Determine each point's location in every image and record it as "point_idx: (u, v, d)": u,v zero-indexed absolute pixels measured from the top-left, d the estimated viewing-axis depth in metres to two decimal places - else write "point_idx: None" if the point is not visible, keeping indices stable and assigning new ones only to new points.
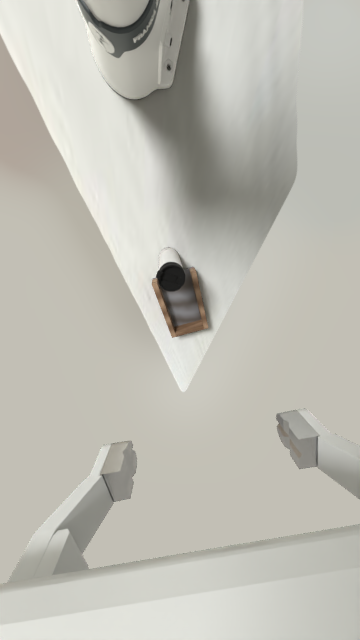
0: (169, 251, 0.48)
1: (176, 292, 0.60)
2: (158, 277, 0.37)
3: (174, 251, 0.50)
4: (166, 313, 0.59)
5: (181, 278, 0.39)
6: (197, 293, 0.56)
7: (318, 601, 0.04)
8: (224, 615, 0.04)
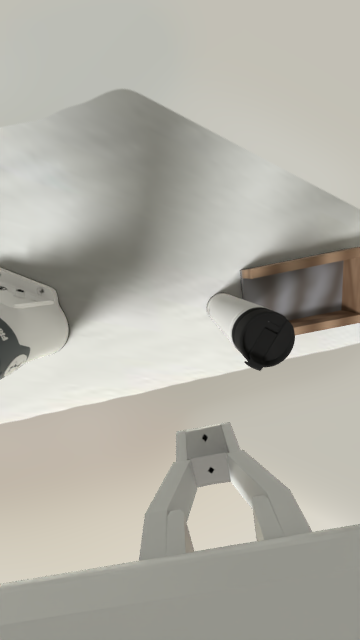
0: (212, 312, 0.31)
1: (277, 301, 0.36)
2: (259, 367, 0.19)
3: (213, 302, 0.33)
4: (314, 325, 0.34)
5: (270, 319, 0.19)
6: (291, 267, 0.31)
7: (317, 601, 0.04)
8: (224, 615, 0.04)
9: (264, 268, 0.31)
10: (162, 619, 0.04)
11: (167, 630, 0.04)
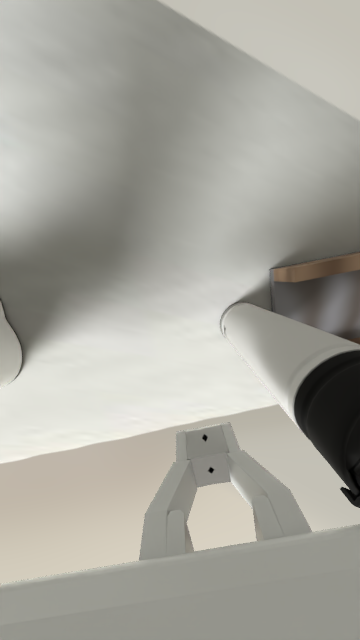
0: (232, 334, 0.20)
1: (322, 314, 0.25)
2: None
3: (233, 318, 0.21)
4: None
5: None
6: (358, 265, 0.19)
7: (317, 601, 0.04)
8: (224, 615, 0.04)
9: (316, 266, 0.19)
10: (162, 619, 0.04)
11: (167, 630, 0.04)
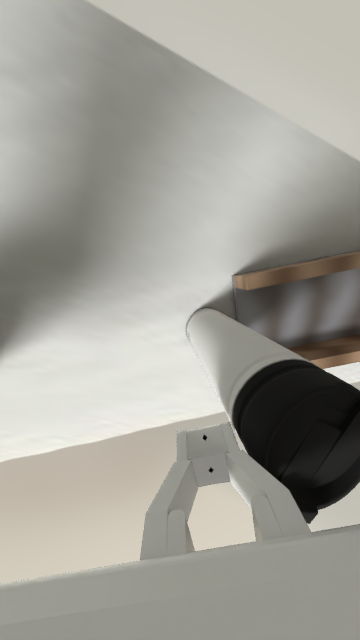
0: (194, 342, 0.20)
1: (284, 319, 0.26)
2: (307, 519, 0.08)
3: (195, 325, 0.21)
4: (339, 358, 0.23)
5: None
6: (308, 273, 0.20)
7: (318, 601, 0.04)
8: (224, 615, 0.04)
9: (267, 274, 0.20)
10: (162, 619, 0.04)
11: (167, 630, 0.04)
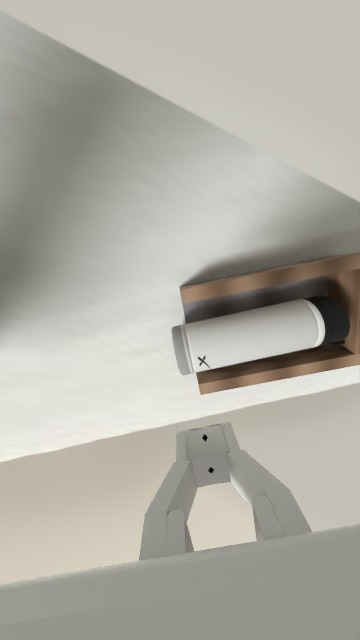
0: (230, 350, 0.19)
1: None
2: None
3: (211, 340, 0.19)
4: (284, 371, 0.23)
5: None
6: (244, 287, 0.20)
7: (317, 601, 0.04)
8: (224, 615, 0.04)
9: (202, 288, 0.20)
10: (162, 619, 0.04)
11: (167, 630, 0.04)
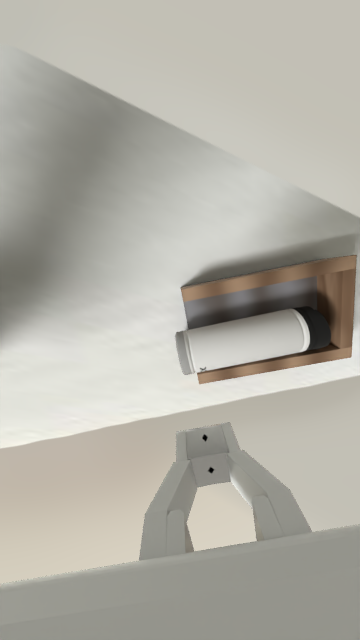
0: (227, 362, 0.23)
1: None
2: None
3: (212, 356, 0.22)
4: (275, 363, 0.25)
5: None
6: (237, 287, 0.22)
7: (318, 601, 0.04)
8: (224, 615, 0.04)
9: (200, 288, 0.22)
10: (162, 619, 0.04)
11: (167, 630, 0.04)
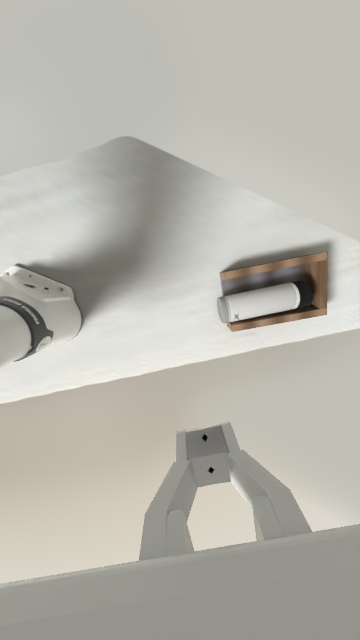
0: (251, 311, 0.38)
1: None
2: None
3: (242, 306, 0.38)
4: (279, 318, 0.41)
5: None
6: (257, 270, 0.38)
7: (317, 601, 0.04)
8: (224, 615, 0.04)
9: (235, 271, 0.38)
10: (162, 619, 0.04)
11: (167, 630, 0.04)
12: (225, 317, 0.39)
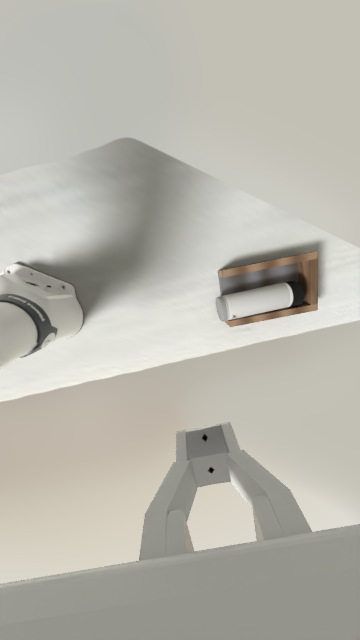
0: (248, 311, 0.41)
1: None
2: None
3: (240, 307, 0.41)
4: (274, 314, 0.43)
5: None
6: (254, 268, 0.40)
7: (318, 601, 0.04)
8: (224, 615, 0.04)
9: (233, 269, 0.40)
10: (162, 619, 0.04)
11: (167, 630, 0.04)
12: (224, 317, 0.42)
